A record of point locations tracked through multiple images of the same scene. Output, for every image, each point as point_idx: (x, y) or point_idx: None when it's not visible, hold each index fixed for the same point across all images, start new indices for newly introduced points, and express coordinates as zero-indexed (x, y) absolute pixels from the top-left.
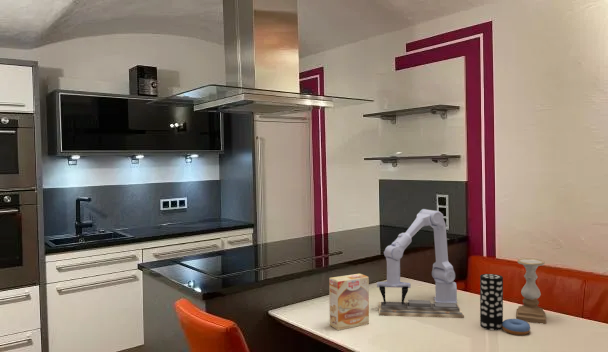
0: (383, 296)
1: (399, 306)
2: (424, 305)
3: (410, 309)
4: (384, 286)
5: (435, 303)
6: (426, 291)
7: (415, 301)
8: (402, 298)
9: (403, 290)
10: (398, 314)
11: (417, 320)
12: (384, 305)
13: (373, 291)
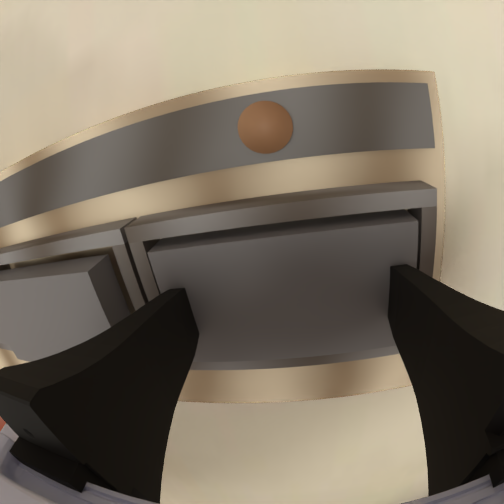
0: (465, 301)
1: (208, 239)
2: (9, 274)
3: (104, 225)
4: (496, 484)
5: (1, 334)
6: (171, 497)
7: (64, 332)
8: (142, 322)
9: (26, 386)
10: (213, 90)
11: (57, 54)
12: (404, 219)
13: (390, 490)
